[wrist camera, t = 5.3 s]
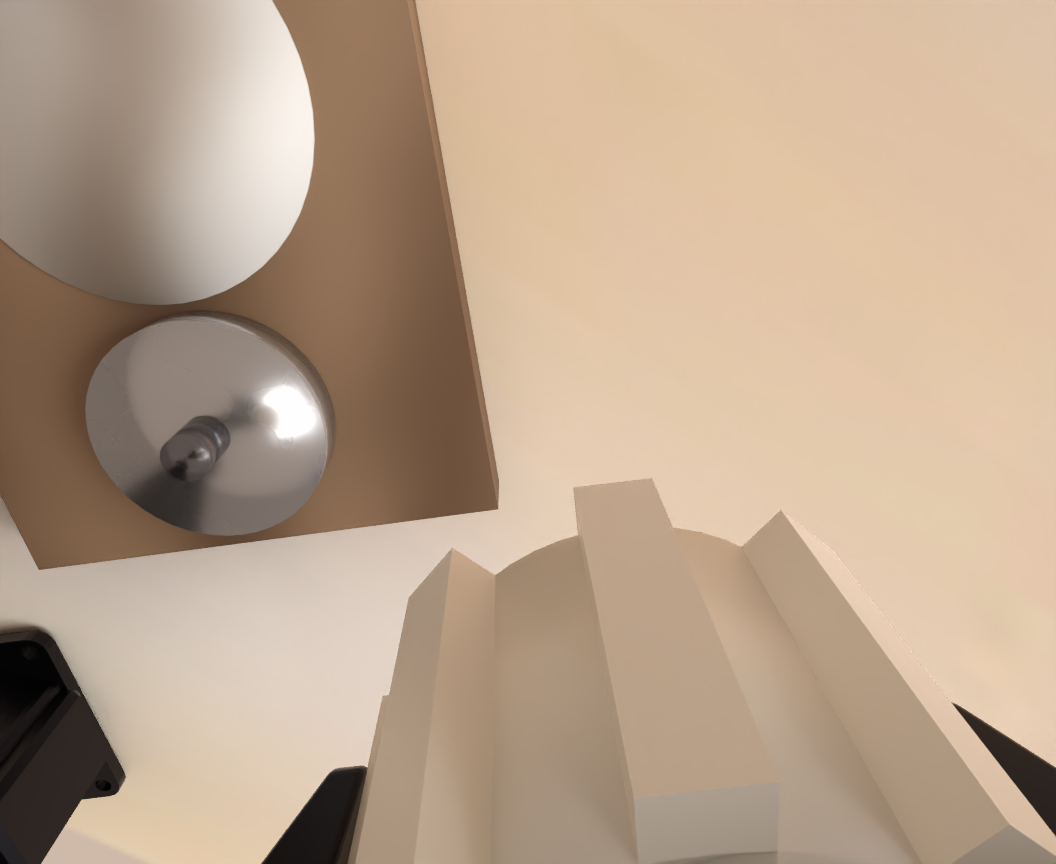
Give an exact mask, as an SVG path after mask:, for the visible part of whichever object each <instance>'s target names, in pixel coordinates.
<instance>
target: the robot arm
mask: <svg viewBox="0 0 1056 864" xmlns="http://www.w3.org/2000/svg"><path fill="white" fill-rule="evenodd" d="M34 648H35V649H34ZM951 703H952V702H951ZM952 704H953V705H954V707H955V708H956V709H957V711H958V712H959V713H960V714H961V716H962V717H963V718H964V719H965V721H966V722H967V723H968V725H969V726H970V727H971V728H972V730H973V731H974V732H975V734H976V735H977V736H978V737H979V739H980V740H981V741H982V743H983V744H984V745H985V746H986V748H987V749H988V750H989V752H990V753H991V754H992V755H993V757H994V758H995V759H996V761H997V762H998V763H999V764H1000V766H1001V767H1002V768H1003V770H1004V771H1005V772H1006V773H1007V775H1008V776H1009V777H1010V779H1011V780H1012V781H1013V782H1014V784H1015V785H1016V786H1017V787H1018V789H1019V790H1020V791H1021V793H1022V794H1023V795H1024V796H1025V798H1026V799H1027V800H1028V802H1029V803H1030V804H1031V805H1032V807H1033V808H1034V809H1035V811H1036V812H1037V813H1038V814H1039V816H1040V817H1041V818H1042V820H1043V821H1044V822H1045V823H1046V825H1047V826H1048V827H1049V829H1050V830H1051V831H1052V832H1053V834H1054V835H1055V836H1056V767H1054V766H1053V765H1051V764H1049V763H1048V762H1046V761H1045V760H1043V759H1042V758H1040V757H1038V756H1037V755H1035V754H1034V753H1032V752H1031V751H1029V750H1028V749H1026V748H1024V747H1023V746H1021V745H1020V744H1018V743H1017V742H1015V741H1013V740H1012V739H1010V738H1009V737H1007V736H1006V735H1004V734H1003V733H1001V732H999V731H998V730H996V729H995V728H993V727H992V726H990V725H988V724H987V723H985V722H984V721H982V720H981V719H979V718H978V717H976V716H974V715H973V714H971V713H970V712H968V711H967V710H965V709H964V708H962V707H960V706H959V705H957V704H954V703H952ZM366 774H367V767H365V766H354V767H344V768H337V769H335V770H333V771H332V772H330V773H329V774H328V775H327V777H326V778H325V779H324V781H323V782H322V783H321V785H320V786H319V787H318V789H317V790H316V791H315V793H314V794H313V795H312V797H311V798H310V799H309V801H308V802H307V803H306V805H305V806H304V807H303V809H302V810H301V811H300V813H299V814H298V815H297V817H296V818H295V819H294V821H293V822H292V823H291V825H290V826H289V827H288V829H287V830H286V831H285V833H284V834H283V835H282V837H281V838H280V839H279V841H278V842H277V843H276V845H275V846H274V847H273V849H272V850H271V851H270V853H269V854H268V855H267V857H266V858H265V859H264V861H263V862H262V863H261V864H348V859H349V854H350V850H351V845H352V840H353V836H354V831H355V826H356V821H357V817H358V812H359V807H360V802H361V798H362V793H363V788H364V784H365V779H366ZM125 778H126V776H125V773H124V771H123V769H122V767H121V765H120V763H119V761H118V759H117V757H116V756H115V754H114V752H113V750H112V748H111V746H110V744H109V742H108V740H107V739H106V737H105V735H104V733H103V731H102V729H101V727H100V725H99V723H98V722H97V720H96V718H95V716H94V714H93V712H92V710H91V708H90V706H89V705H88V703H87V701H86V699H85V697H84V695H83V693H82V691H81V689H80V687H79V686H78V684H77V682H76V680H75V678H74V676H73V674H72V672H71V670H70V669H69V667H68V665H67V663H66V661H65V659H64V657H63V655H62V653H61V652H60V650H59V648H58V646H57V644H56V642H55V641H54V640H53V638H52V637H51V636H49V635H48V634H46V633H43V632H40V631H27V632H19V633H11V634H4V635H0V864H41V863H42V861H43V859H44V858H45V856H46V855H47V853H48V852H49V850H50V848H51V847H52V845H53V844H54V842H55V840H56V839H57V837H58V836H59V834H60V833H61V831H62V830H63V828H64V826H65V825H66V823H67V822H68V820H69V818H70V817H71V815H72V814H73V812H74V811H75V809H76V807H77V806H78V804H79V803H80V801H81V799H90V798H98V797H106V796H111V795H115V794H116V793H117V792H118V791H119V789H120V788H121V786H122V784H123V783H124V781H125Z"/></svg>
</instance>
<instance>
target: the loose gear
mask: <svg viewBox="0 0 1056 864" xmlns="http://www.w3.org/2000/svg"><path fill="white" fill-rule="evenodd" d="M573 489H574V499H575V509H576V519H577V529H578V536H574V537H571V538H567V539H564V540H561V541H558V542H555V543H553V544H551V545H548V546H546V547H544V548H541V549H539V550H536V551H534V552H532V553H530V554H529V555H527V556H525V557H523V558H521V559H520V560H518V561H516V562H514V563H513V564H511V565H509V566H508V567H506V568H505V569H504V570H502V571H501V572H500V573H498V574H497V575H494V574H492V573H491V572H489V571H488V570H486V569H484V568H483V567H481V566H480V565H478V564H477V563H475V562H473V561H472V560H470V559H469V558H467V557H465V556H464V555H462V554H461V553H459V552H458V551H456V550H454V549H453V548H452V549H451V550H450V551H449V552H448V553H447V555H446V556H445V557H444V558H443V559H442V560H441V561H440V563H439V564H438V565H437V566H436V567H435V568H434V570H433V571H432V572H431V573H430V574H429V575H428V576H427V578H426V579H425V580H424V581H423V582H422V583H421V584H420V586H419V587H418V588H417V589H416V590H415V591H414V592H413V594H412V595H411V596H410V597H409V599H408V604H407V609H406V614H405V619H404V624H403V629H402V634H401V639H400V644H399V649H398V654H397V659H396V664H395V669H394V674H393V678H392V683H391V688H390V693H389V695H387V696H383V697H382V702H381V707H380V712H379V716H378V721H377V726H376V730H375V735H374V740H373V745H372V749H371V754H370V759H369V763H368V768H367V774H366V779H365V784H364V788H363V793H362V798H361V802H360V807H359V812H358V817H357V821H356V826H355V831H354V836H353V840H352V845H351V850H350V854H349V859H348V864H1056V836H1055V835H1054V834H1053V832H1052V831H1051V830H1050V829H1049V827H1048V826H1047V825H1046V823H1045V822H1044V821H1043V820H1042V818H1041V817H1040V816H1039V814H1038V813H1037V812H1036V811H1035V809H1034V808H1033V807H1032V805H1031V804H1030V803H1029V802H1028V800H1027V799H1026V798H1025V796H1024V795H1023V794H1022V793H1021V791H1020V790H1019V789H1018V787H1017V786H1016V785H1015V784H1014V782H1013V781H1012V780H1011V779H1010V777H1009V776H1008V775H1007V773H1006V772H1005V771H1004V770H1003V768H1002V767H1001V766H1000V764H999V763H998V762H997V761H996V759H995V758H994V757H993V755H992V754H991V753H990V752H989V750H988V749H987V748H986V746H985V745H984V744H983V743H982V741H981V740H980V739H979V737H978V736H977V735H976V734H975V732H974V731H973V730H972V728H971V727H970V726H969V725H968V723H967V722H966V721H965V719H964V718H963V717H962V716H961V714H960V713H959V712H958V711H957V709H956V708H955V707H954V705H953V704H952V703H951V702H950V700H949V699H948V698H947V696H946V695H945V694H944V693H943V691H942V690H941V689H940V687H939V686H938V685H937V684H936V682H935V681H934V680H933V678H932V677H931V676H930V675H929V673H928V672H927V671H926V669H925V668H924V667H923V666H922V664H921V663H920V662H919V660H918V659H917V658H916V657H915V655H914V654H913V653H912V652H911V650H910V649H909V648H908V646H907V645H906V644H905V643H904V641H903V640H902V639H901V637H900V636H899V635H898V634H897V632H896V631H895V630H894V628H893V627H892V626H891V625H890V623H889V622H888V621H887V619H886V618H885V617H884V616H883V614H882V613H881V612H880V610H879V609H878V608H877V607H876V605H875V604H874V603H873V601H872V600H871V599H870V598H869V596H868V595H867V594H866V593H865V591H864V590H863V589H862V587H861V586H860V585H859V584H858V582H857V581H856V580H855V578H854V577H853V576H852V575H851V573H850V572H849V571H848V569H847V568H846V567H845V566H844V564H843V563H842V562H841V560H840V559H839V558H838V557H837V555H836V554H835V553H834V551H833V550H832V549H831V548H829V547H828V546H827V545H826V544H824V543H823V542H822V541H820V540H819V539H818V538H817V537H815V536H814V535H813V534H811V533H810V532H809V531H807V530H806V529H805V528H804V527H802V526H801V525H800V524H798V523H797V522H796V521H795V520H793V519H792V518H791V517H789V516H788V515H787V514H785V513H784V512H783V511H782V510H781V511H780V512H778V513H777V514H776V515H775V516H774V517H773V518H772V519H771V520H770V521H769V522H768V523H767V524H766V525H765V526H764V527H763V528H762V529H761V530H759V531H758V532H757V533H756V534H755V535H754V536H753V537H752V538H751V539H750V540H749V541H748V542H747V543H746V544H745V545H744V546H743V547H740V546H738V545H736V544H734V543H731V542H729V541H727V540H724V539H721V538H717V537H714V536H711V535H708V534H704V533H701V532H696V531H690V530H684V529H678V528H673V527H672V525H671V522H670V520H669V518H668V515H667V513H666V511H665V508H664V506H663V503H662V501H661V499H660V496H659V494H658V492H657V489H656V487H655V485H654V482H653V480H652V478H651V479H642V480H634V481H625V482H617V483H608V484H599V485H591V486H582V487H574V488H573Z"/></svg>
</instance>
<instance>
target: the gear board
mask: <svg viewBox="0 0 1056 864" xmlns="http://www.w3.org/2000/svg"><path fill="white" fill-rule="evenodd" d="M198 310H210V311H222V312H227V313H233V314H237V315H240V316H244V317H247V318H250V319H252V320H255V321H257V322H259V323H262V324H264V325H266V326H268V327H269V328H271V329H273V330H275V331H276V332H278V333H280V334H281V335H282V336H284V337H285V338H286V339H288V340H289V341H290V342H292V343H293V344H294V345H295V346H296V347H297V348H298V349H299V350H300V351H301V352H303V353H304V355H305V356H306V357H307V358H308V359H309V361H310V362H311V363H312V364H313V365H314V367H315V368H316V370H317V371H318V373H319V374H320V376H321V377H322V379H323V381H324V383H325V385H326V387H327V389H328V392H329V395H330V398H331V401H332V403H333V408H334V413H335V421H336V436H335V444H334V449H333V453H332V456H331V458H330V461H329V463H328V466H327V468H326V470H325V472H324V473H323V475H322V477H321V479H320V481H319V483H318V485H317V487H316V488H315V490H314V491H313V493H312V495H311V496H310V498H309V499H308V500H307V501H306V502H305V504H304V505H303V506H302V507H301V508H300V509H299V510H298V511H296V512H295V513H294V514H293V515H292V516H290V517H289V518H287V519H286V520H284V521H283V522H281V523H279V524H277V525H274V526H272V527H270V528H267V529H264V530H261V531H258V532H254V533H249V534H244V535H231V536H223V535H210V534H203V533H197V532H193V531H189V530H185V529H182V528H180V527H177V526H174V525H171V524H169V523H167V522H165V521H163V520H161V519H159V518H157V517H155V516H153V515H152V514H150V513H148V512H147V511H145V510H144V509H142V508H141V507H140V506H138V505H137V504H136V503H134V502H133V501H132V500H130V499H129V498H128V497H127V496H126V495H125V494H124V493H123V492H122V491H121V490H120V489H119V488H118V487H117V486H116V484H115V483H114V482H113V481H112V480H111V479H110V477H109V476H108V474H107V473H106V472H105V470H104V469H103V467H102V466H101V464H100V462H99V460H98V458H97V456H96V454H95V452H94V450H93V447H92V444H91V441H90V439H89V434H88V430H87V425H86V413H85V407H86V396H87V392H88V388H89V384H90V381H91V379H92V376H93V374H94V372H95V370H96V368H97V367H98V365H99V363H100V362H101V360H102V359H103V358H104V357H105V355H106V354H107V353H108V352H109V351H110V350H111V349H112V348H113V347H114V346H116V345H117V344H118V343H119V342H121V341H122V340H123V339H125V338H127V337H128V336H130V335H132V334H134V333H136V332H137V331H139V330H141V329H143V328H145V327H146V326H148V325H150V324H152V323H154V322H155V321H157V320H159V319H162V318H164V317H167V316H170V315H173V314H177V313H182V312H186V311H198ZM498 493H499V479H498V474H497V468H496V462H495V457H494V451H493V445H492V439H491V434H490V428H489V422H488V416H487V411H486V405H485V399H484V393H483V388H482V382H481V376H480V371H479V365H478V359H477V353H476V348H475V342H474V336H473V330H472V325H471V319H470V313H469V308H468V302H467V296H466V290H465V285H464V279H463V273H462V267H461V262H460V256H459V250H458V245H457V239H456V233H455V227H454V222H453V216H452V210H451V204H450V199H449V193H448V187H447V181H446V176H445V170H444V164H443V159H442V153H441V147H440V141H439V136H438V130H437V124H436V118H435V113H434V107H433V101H432V96H431V90H430V84H429V78H428V73H427V67H426V61H425V55H424V50H423V44H422V38H421V33H420V27H419V21H418V15H417V10H416V4H415V0H0V495H1V497H2V499H3V501H4V502H5V504H6V506H7V508H8V510H9V512H10V514H11V516H12V518H13V520H14V522H15V524H16V526H17V528H18V530H19V532H20V534H21V536H22V538H23V539H24V541H25V543H26V545H27V547H28V549H29V551H30V553H31V555H32V557H33V559H34V561H35V563H36V565H37V567H38V569H39V570H42V569H49V568H57V567H65V566H72V565H80V564H87V563H95V562H102V561H110V560H117V559H125V558H133V557H140V556H148V555H155V554H163V553H170V552H178V551H186V550H193V549H201V548H208V547H216V546H223V545H231V544H238V543H246V542H254V541H261V540H269V539H276V538H284V537H291V536H299V535H306V534H314V533H322V532H329V531H337V530H344V529H352V528H359V527H367V526H375V525H382V524H390V523H397V522H405V521H412V520H420V519H427V518H435V517H443V516H450V515H458V514H465V513H473V512H480V511H488V510H496V509H498Z"/></svg>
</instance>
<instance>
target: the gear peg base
mask: <svg viewBox="0 0 1056 864" xmlns="http://www.w3.org/2000/svg"><path fill="white" fill-rule="evenodd" d="M85 413H86V425H87V430H88V434H89V439H90V441H91V444H92V447H93V450H94V452H95V454H96V456H97V458H98V460H99V462H100V464H101V466H102V467H103V469H104V470H105V472H106V473H107V474H108V476H109V477H110V479H111V480H112V481H113V482H114V483H115V484H116V486H117V487H118V488H119V489H120V490H121V491H122V492H123V493H124V494H125V495H126V496H127V497H128V498H129V499H130V500H132V501H133V502H134V503H136V504H137V505H138V506H140V507H141V508H142V509H144V510H145V511H147V512H148V513H150V514H152V515H153V516H155V517H157V518H159V519H161V520H163V521H165V522H167V523H169V524H171V525H174V526H177V527H180V528H182V529H185V530H189V531H193V532H197V533H203V534H210V535H223V536H231V535H244V534H249V533H254V532H258V531H261V530H264V529H267V528H270V527H272V526H274V525H277V524H279V523H281V522H283V521H284V520H286V519H287V518H289V517H290V516H292V515H293V514H294V513H295V512H296V511H298V510H299V509H300V508H301V507H302V506H303V505H304V504H305V502H306V501H307V500H308V499H309V498H310V496H311V495H312V493H313V491H314V490H315V488H316V487H317V485H318V483H319V481H320V479H321V477H322V475H323V473H324V472H325V470H326V468H327V466H328V463H329V461H330V458H331V456H332V453H333V449H334V444H335V436H336V421H335V413H334V408H333V403H332V401H331V398H330V395H329V392H328V389H327V387H326V385H325V383H324V381H323V379H322V377H321V376H320V374H319V373H318V371H317V370H316V368H315V367H314V365H313V364H312V363H311V362H310V361H309V359H308V358H307V357H306V356H305V355H304V353H303V352H301V351H300V350H299V349H298V348H297V347H296V346H295V345H294V344H293V343H292V342H290V341H289V340H288V339H286V338H285V337H284V336H282V335H281V334H280V333H278V332H276V331H275V330H273V329H271V328H269V327H268V326H266V325H264V324H262V323H259V322H257V321H255V320H252V319H250V318H247V317H244V316H240V315H237V314H233V313H227V312H222V311H210V310H198V311H186V312H182V313H177V314H173V315H170V316H167V317H164V318H162V319H159V320H157V321H155V322H154V323H152V324H150V325H148V326H146V327H145V328H143V329H141V330H139V331H137V332H136V333H134V334H132V335H130V336H128V337H127V338H125V339H123V340H122V341H121V342H119V343H118V344H117V345H116V346H114V347H113V348H112V349H111V350H110V351H109V352H108V353H107V354H106V355H105V357H104V358H103V359H102V360H101V362H100V363H99V365H98V367H97V368H96V370H95V372H94V374H93V376H92V379H91V381H90V384H89V388H88V392H87V396H86V407H85Z"/></svg>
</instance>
